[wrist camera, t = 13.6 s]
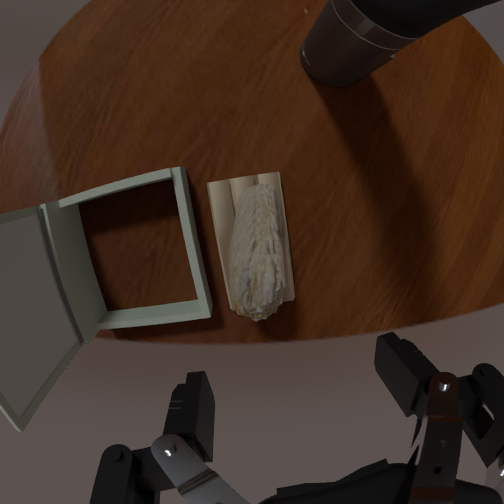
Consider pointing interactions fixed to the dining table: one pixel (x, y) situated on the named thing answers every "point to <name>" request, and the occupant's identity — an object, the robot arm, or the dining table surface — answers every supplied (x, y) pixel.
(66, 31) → the dining table surface
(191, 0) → the dining table surface
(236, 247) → the fossil tooth
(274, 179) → the slatted stand
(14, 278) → the cold frame
